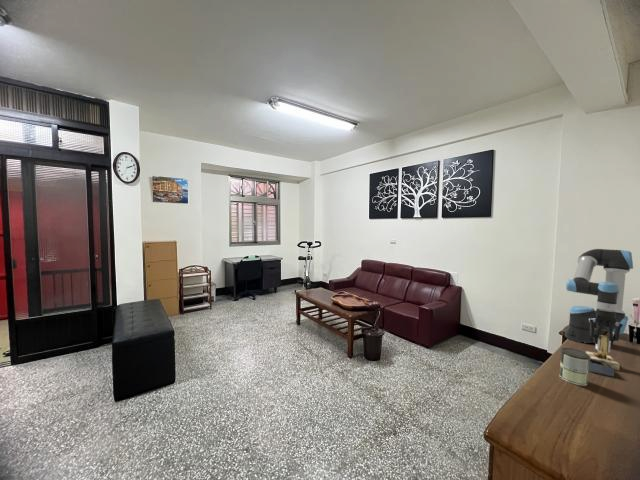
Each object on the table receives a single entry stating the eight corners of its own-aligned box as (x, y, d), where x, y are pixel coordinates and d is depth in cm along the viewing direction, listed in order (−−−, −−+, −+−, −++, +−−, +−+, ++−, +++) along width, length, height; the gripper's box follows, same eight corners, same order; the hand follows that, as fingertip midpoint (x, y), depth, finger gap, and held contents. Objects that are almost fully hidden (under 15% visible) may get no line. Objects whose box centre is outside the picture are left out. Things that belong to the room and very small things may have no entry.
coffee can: (553, 373, 136) (555, 346, 136) (575, 375, 135) (577, 348, 135) (570, 384, 126) (572, 356, 125) (593, 387, 125) (596, 358, 124)
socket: (580, 363, 148) (580, 356, 148) (604, 368, 144) (605, 361, 143) (587, 371, 140) (587, 363, 140) (613, 376, 135) (614, 369, 135)
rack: (585, 356, 157) (585, 350, 157) (608, 361, 152) (609, 355, 152) (593, 365, 146) (594, 359, 146) (619, 370, 142) (619, 364, 141)
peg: (596, 356, 151) (597, 334, 151) (604, 358, 150) (606, 336, 149) (598, 359, 148) (600, 336, 148) (607, 361, 147) (609, 338, 146)
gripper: (588, 308, 149) (585, 349, 150) (631, 314, 141) (627, 357, 142) (583, 305, 155) (580, 344, 156) (623, 311, 147) (619, 351, 148)
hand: (602, 350), depth 149 cm, fingers closed on peg, 4 cm apart
